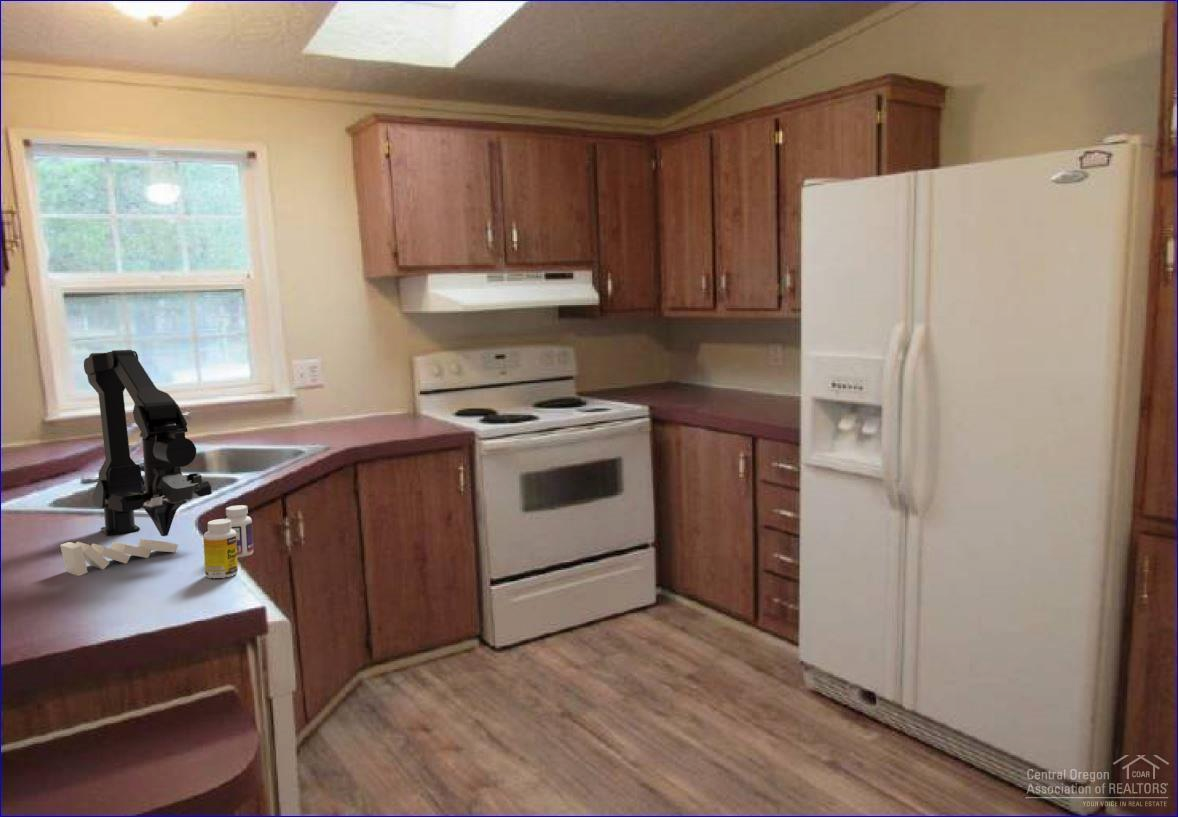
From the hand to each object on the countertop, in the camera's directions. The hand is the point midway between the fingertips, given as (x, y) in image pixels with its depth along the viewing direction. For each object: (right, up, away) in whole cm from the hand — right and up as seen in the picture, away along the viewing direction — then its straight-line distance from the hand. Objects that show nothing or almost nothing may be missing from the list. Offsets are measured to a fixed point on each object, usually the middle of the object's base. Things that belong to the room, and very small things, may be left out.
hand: (164, 535), depth 165 cm
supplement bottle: (+19, -5, -15) cm, 25 cm away
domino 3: (-5, -3, -7) cm, 9 cm away
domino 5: (+1, -2, 0) cm, 3 cm away
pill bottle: (+16, -4, -2) cm, 17 cm away
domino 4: (-2, -3, -3) cm, 5 cm away
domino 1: (-9, -5, -14) cm, 17 cm away
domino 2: (-7, -4, -10) cm, 13 cm away
